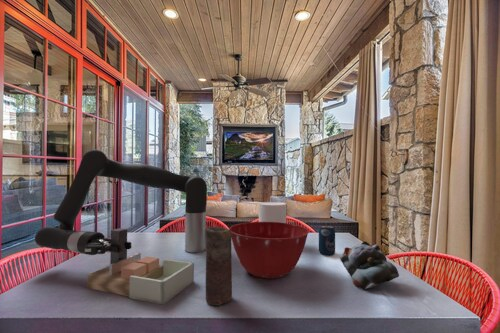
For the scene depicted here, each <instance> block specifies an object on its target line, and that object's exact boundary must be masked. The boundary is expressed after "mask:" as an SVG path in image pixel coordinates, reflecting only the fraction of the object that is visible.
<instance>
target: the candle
mask: <svg viewBox="0 0 500 333" xmlns="http://www.w3.org/2000/svg"><path fill="white" fill-rule="evenodd" d="M232 265H233V264H232V238H231V230H229V228H227V227H219V226H218V227H217V226H208V227H207V226H206V250H205V300H206V304H207V305H209V306H219V305H221V304H226V303H228V302H229V301H231V299H232V296H233V278H232V277H233V276H232V275H233V273H232V271H233V270H232V269H233V267H232Z"/></svg>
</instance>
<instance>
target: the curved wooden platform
mask: <svg viewBox="0 0 500 333" xmlns="http://www.w3.org/2000/svg"><path fill="white" fill-rule="evenodd" d="M161 276H163V265H161V264H159V268H157V269H155V270H153V271H151V272H149V273H147V272H146V274H145V275H143V276H141V277H144V278H150V279H158V278H160V277H161ZM86 278H87V281H86V282H87V285H86V288H87V289H91V290H94V291H95V290H96V291H101V292H106V293H111V294H116V295H120V296H121V295H122V296H127V297H129V296H130V279H124V278H121V271H119V272H117V273H115V274H113V275H109V265H108V266H106V267H103V268H101V269H99V270H95V271H93V272H92V273H89V274H87V277H86Z"/></svg>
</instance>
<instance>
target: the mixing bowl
mask: <svg viewBox="0 0 500 333" xmlns="http://www.w3.org/2000/svg"><path fill="white" fill-rule="evenodd" d="M228 229H229V230H231V243H232V245H233V248H234V251H235V254H236V256H237V258H238V260H239V262H240V264H241V266H242V267H243V269H244V270H245V271H247V272H248V273H249V274H250V275H251V276H254V277H256V278H260V279H278V278H282V277H284V276H286V275H287V274H289V273H291V272H292V271H293V270H294V269H295V267H296V266H297V264H298V262H299V261H300V258H301V256H302V254H303V252H304V249H305V245H306V243H307V238H308V235H309V234H310V230H309V229H308V228H306V227H305V226H301V225H298V224H295V223H294V224H293V223H288V222H286V223H280V222H259V221H251V222H250V221H249V222H242V223H237V224H234V225H231V226H230V227H229V228H228Z"/></svg>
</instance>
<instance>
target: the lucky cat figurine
mask: <svg viewBox="0 0 500 333" xmlns="http://www.w3.org/2000/svg"><path fill="white" fill-rule="evenodd" d="M339 259H340V262H341V263H342V265H343V267H344V268H345V270H346V271H347V273H348V274H349V276H350V278H351V280H352V283H353V285H354V286H355V287H356V288H359V289H361V290H364V291H365V290H366V289H370V288H374V287H376V286H378V285H381V284H384V283H387V282H391V281H392V280H395V279H397V278H398V277H400V274H399V271H398V268H397V267H396V266H395V265H394V264H393V263H392V262H390V261H388V260H387V257H386V255H385V254H384V252H383V251H382V250H381V248H380V246H379V245H378V244H374V245H370V243H369V242H367V241H362V243H361V244H360V243H359V244H357V245H354V246H353V247H344V251H343V252H342V254H341V255H340V257H339Z"/></svg>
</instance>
